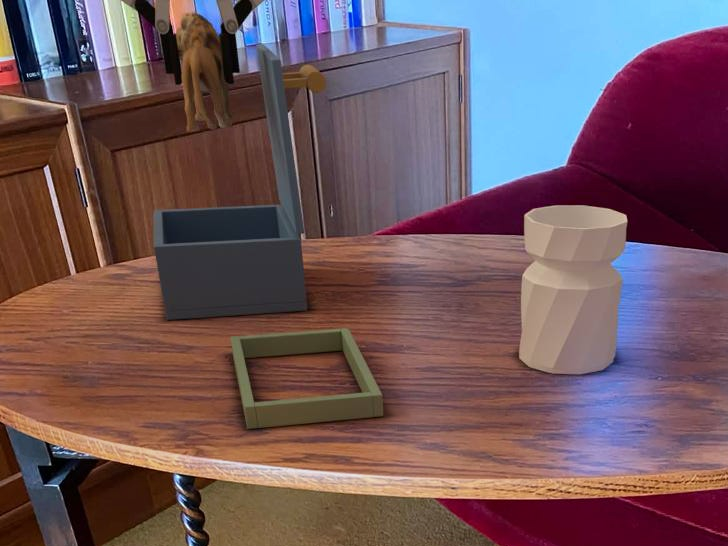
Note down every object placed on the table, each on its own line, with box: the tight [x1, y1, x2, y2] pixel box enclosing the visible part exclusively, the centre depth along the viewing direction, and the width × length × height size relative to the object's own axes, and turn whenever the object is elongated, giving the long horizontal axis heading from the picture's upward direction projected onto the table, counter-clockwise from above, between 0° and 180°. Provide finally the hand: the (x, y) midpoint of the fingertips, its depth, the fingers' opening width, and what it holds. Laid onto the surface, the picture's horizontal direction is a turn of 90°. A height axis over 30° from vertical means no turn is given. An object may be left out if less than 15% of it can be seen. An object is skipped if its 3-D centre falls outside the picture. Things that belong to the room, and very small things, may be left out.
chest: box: [153, 204, 308, 321], centre depth 100 cm, size 14×16×7 cm
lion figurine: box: [174, 11, 234, 133], centre depth 91 cm, size 15×5×9 cm, turn 17°
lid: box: [255, 43, 327, 235], centre depth 95 cm, size 15×16×5 cm
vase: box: [518, 205, 628, 376], centre depth 84 cm, size 9×9×12 cm
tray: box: [229, 327, 384, 430], centre depth 81 cm, size 11×17×2 cm, turn 15°
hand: (204, 80), depth 91 cm, fingers closed on lion figurine, 4 cm apart
